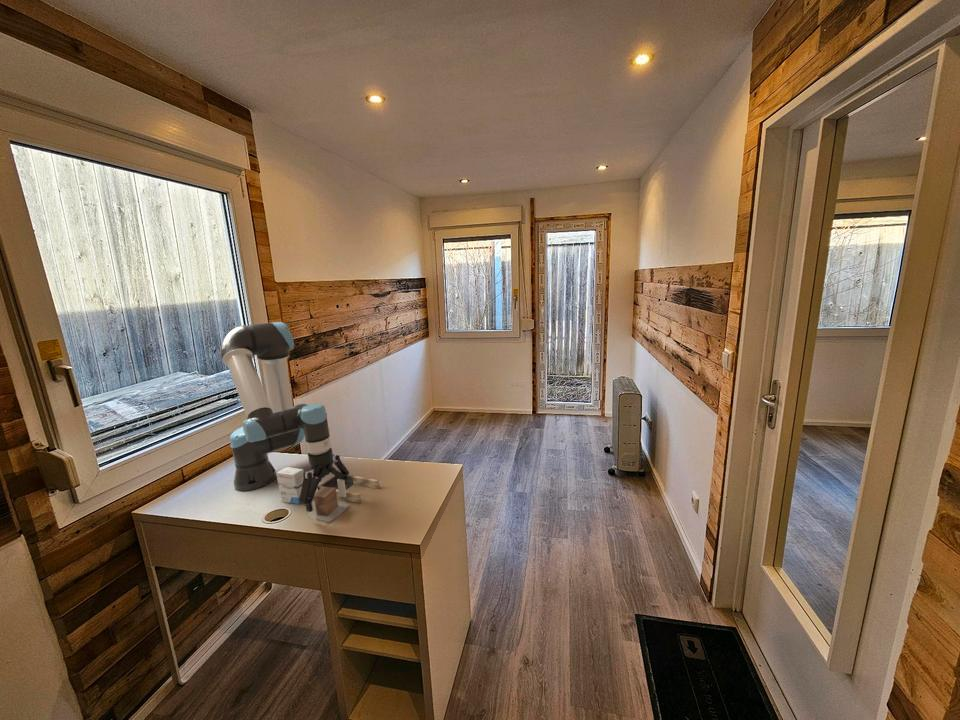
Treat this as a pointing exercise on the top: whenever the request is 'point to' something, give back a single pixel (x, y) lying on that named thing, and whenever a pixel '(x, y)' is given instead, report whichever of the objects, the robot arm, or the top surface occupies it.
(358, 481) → the channel
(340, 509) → the slate pad
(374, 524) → the top surface
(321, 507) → the walnut block
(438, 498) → the top surface
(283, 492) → the ink box
